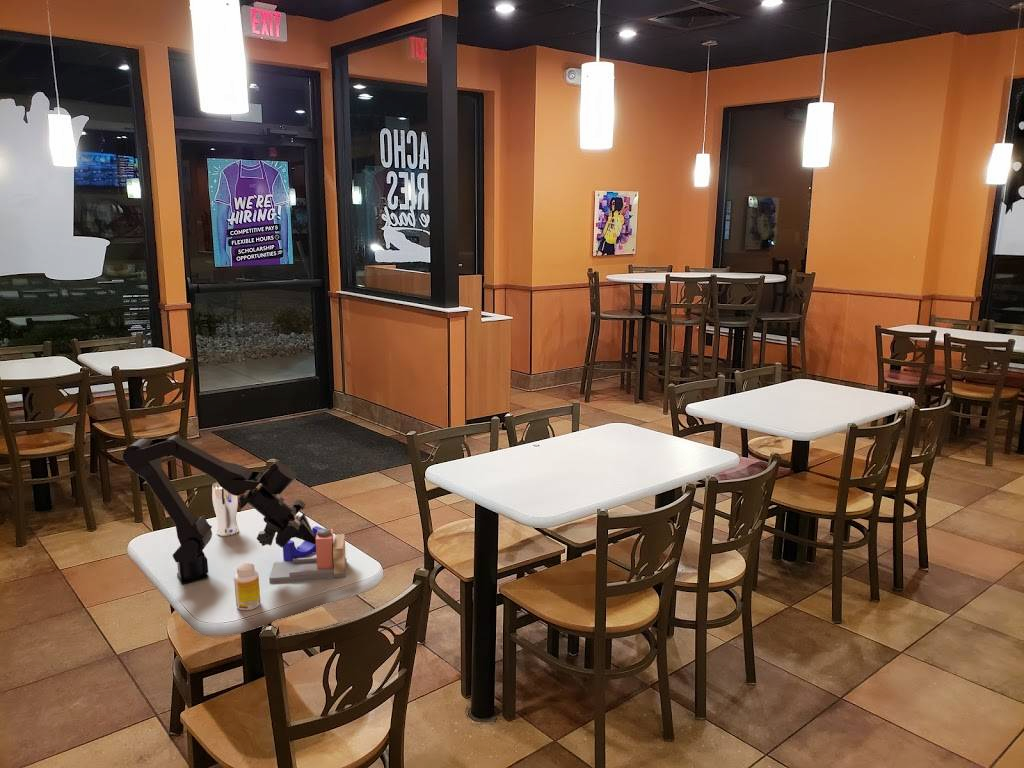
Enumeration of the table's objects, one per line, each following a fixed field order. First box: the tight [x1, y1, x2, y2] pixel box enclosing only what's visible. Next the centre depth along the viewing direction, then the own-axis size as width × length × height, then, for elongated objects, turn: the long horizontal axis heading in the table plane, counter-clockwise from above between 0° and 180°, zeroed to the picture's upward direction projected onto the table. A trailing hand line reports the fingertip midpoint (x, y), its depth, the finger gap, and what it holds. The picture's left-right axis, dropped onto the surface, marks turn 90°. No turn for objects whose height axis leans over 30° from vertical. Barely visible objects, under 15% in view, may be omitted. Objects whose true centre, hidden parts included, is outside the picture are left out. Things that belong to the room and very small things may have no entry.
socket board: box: [268, 556, 348, 583], centre depth 202 cm, size 19×9×2 cm, turn 99°
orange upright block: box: [315, 527, 334, 569], centre depth 201 cm, size 4×6×10 cm, turn 9°
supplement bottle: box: [233, 562, 261, 611], centre depth 184 cm, size 6×6×10 cm
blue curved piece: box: [282, 525, 324, 562], centre depth 212 cm, size 12×4×6 cm, turn 146°
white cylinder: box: [211, 481, 239, 537], centre depth 225 cm, size 7×7×15 cm
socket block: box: [333, 533, 347, 574], centre depth 202 cm, size 2×9×7 cm, turn 9°
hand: (315, 542), depth 200 cm, fingers closed
